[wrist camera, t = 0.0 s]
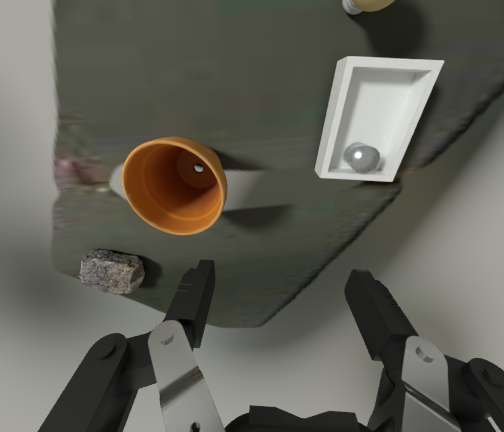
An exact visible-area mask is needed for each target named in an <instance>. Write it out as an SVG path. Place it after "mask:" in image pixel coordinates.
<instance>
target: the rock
mask: <svg viewBox="0 0 504 432" xmlns="http://www.w3.org/2000/svg"><path fill="white" fill-rule="evenodd" d="M81 264H82V265H81V268H80V269H81V272H80V273H79V278H81V279H82V280H81V282H82V283H83V284H85V285H87V286H90V287H95V288H97V289H99V290H101V291H103V292H110V293H113V294H115V295H116V294H121V293H125V294H129V293H131V292H134V291H135V290H136V289H137V288H138V287H139V286H140V284H141V283H142V282H143V279H144V276H145V271H144V270H143V262H142V261H141V259H139V258H138V257H137V256H133V255H132V256H131V255H129V256H128V255H124V254H117V253H116V254H115V253H113V252H112V251H107V250H102V249H100V250H94V249H92V250H91V252H90V253H89V254H88V255H87V256H86V257H84V258H83V260H82V261H81Z"/></svg>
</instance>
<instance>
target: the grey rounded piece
mask: <svg viewBox="0 0 504 432" xmlns="http://www.w3.org/2000/svg"><path fill="white" fill-rule="evenodd" d="M343 160H344V162H345V163H346V164H347V165H349V166H350V167H351V168H353V169H354V170H355V171H357V172H359V173H366V172H369V171H371V170H373V169H374V168H375V167H376V166H377V164H378V162H379V160H380V153H379V151H378V150H377V149H376V148H374V147H371V146H369V145H367V144H364V143H362V142H355V143H352V144H350V145H349V146H348V147H347V148H346V149H345V151H344V154H343Z"/></svg>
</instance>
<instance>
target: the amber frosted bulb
mask: <svg viewBox="0 0 504 432" xmlns="http://www.w3.org/2000/svg"><path fill="white" fill-rule="evenodd" d="M394 1H395V0H342V2H343V7H344V9H345V11H346V12H347V13H349V14H352V15H355V14H358V13H360V12H362V11H367V12H373V11H377V10H380V9H383V8H385V7H387V6H388V5H390V4H391V3H392V2H394Z"/></svg>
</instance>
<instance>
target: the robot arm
mask: <svg viewBox="0 0 504 432" xmlns="http://www.w3.org/2000/svg"><path fill="white" fill-rule="evenodd" d="M214 288H215V267H214V260H200V262H199V264H198V267H197V269H194V268H190V269H189V270H188V271H187V272H186V273H185V274H184V276H183V278H182V280H181V282H180V285H179V287H178V289H177V292H176V294H175V296H174V298H173V300H172V303H171V305H170V307H169V310H168V312H167V314H166V317H165V318H164V320H163V322H162V323H160V324H159V325H158V326H156V327H155V329H153V330H152V331H151V332H148V333H146V334H142V335H139V336H135V337H131V338H127V339H126V338H125V336H124V335H122V334H120V333H113V334H109V335H107V336H105V337H103V338H101V339H100V340H98V341H97V342H96V343H95V344H94V345H93V346H92V347H91V348H90V350H89V351H88V353H87V354H86V356H85V357H84V359H83V361H82V362H81V364H80V365H79V367H78V368H77V370H76V372H75V373H74V375H73V376H72V378H71V380H70V381H69V383H68V384H67V386H66V388H65V390H64V391H63V392H62V394H61V395H60V397H59V399H58V400H57V402H56V403H55V405H54V407H53V408H52V410H51V411H50V413H49V415H48V416H47V418H46V419H45V421H44V422H43V424H42V426H41V427H40V429H39V430H38V432H123V429H124V427H125V424H126V421H127V419H128V416H129V413H130V411H131V408H132V405H133V403H134V400H135V397H136V395H137V392H138V389H140V388H143V387H146V386H149V385H152V384H155V383H157V385H158V389H159V393H160V406H161V411H162V415H163V420H164V424H165V428H166V432H496V431H495V429H494V428H493V426H492V425H491V423H490V422H489V420H488V419H487V418H488V417H490V416H491V417H492V418H493V420H494V421H495V423H496V425H497V426H498V427H499V429H500V430H501V432H504V371H503V370H502V369H501V368H499V367H498V366H496V365H495V364H493V363H491V362H489V361H487V360H484V359H481V358H473V359H471V360H470V361H469V362H468V363H465V362H463V361H460V360H458V359H455V358H452V357H449V356H446V355H444V354H442V353H441V351H440V350H439V349H438V348H437V347H436V346H434V345H433V344H432V343H431V342H429V341H428V340H426V339H424V338H422V337H419V335H418V334H417V332H416V331H415V329H414V328H413V327H412V325H411V323H410V322H409V320H408V319H407V317H406V316H405V315H404V313H403V311H402V310H401V308H400V307H399V306H398V304H397V302H396V301H395V300H394V299H393V296H392V295H391V293H390V292H389V290H388V289H387V288H386V287H385V286H384V285H383V284H382V283H381V282H380V281H378V280H375V279H374V278H373V276H372V274H371V273H370V272H369V271H368V270H356V269H354V270H352V272H351V274H350V276H349V279H348V281H347V283H346V286H345V297H346V300H347V302H348V305H349V307H350V309H351V312H352V314H353V316H354V319H355V321H356V323H357V326H358V328H359V330H360V333H361V335H362V337H363V340H364V342H365V345H366V347H367V349H368V352H369V354H370V356H371V358H372V360H374V361H382V363H383V364H384V368H383V370H382V374H381V378H380V383H379V388H378V393H377V398H376V402H375V407H374V410H373V413H372V415H371V416H370V419H369V421H368V424H367V427H366V426H364V425H363V424H361V423H359V422H358V421H357V418H356V415H355V413H350V412H337V411H328V412H324V413H321V414H318V415H315V416H312V417H308V418H300V417H297V416H295V415H293V414H290V413H288V412H286V411H283V410H281V409H279V408H276V407H264V406H251V405H250V411H249V413H246V414H243V415H241V416H239V417H237V418H236V419H234V420H233V421H232V422H230V423H229V424H228V425H227V426H226V427H225V428H224V426H223V424H222V422H221V419H220V416H219V414H218V411H217V409H216V406H215V404H214V401H213V399H212V396H211V394H210V392H209V389H208V387H207V384H206V381H205V379H204V377H203V374H202V372H201V371H200V370H199V367H198V365H197V363H196V360H195V357H194V355H193V348H200V345H201V341H202V337H203V333H204V329H205V325H206V321H207V317H208V313H209V308H210V304H211V300H212V296H213V292H214Z"/></svg>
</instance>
